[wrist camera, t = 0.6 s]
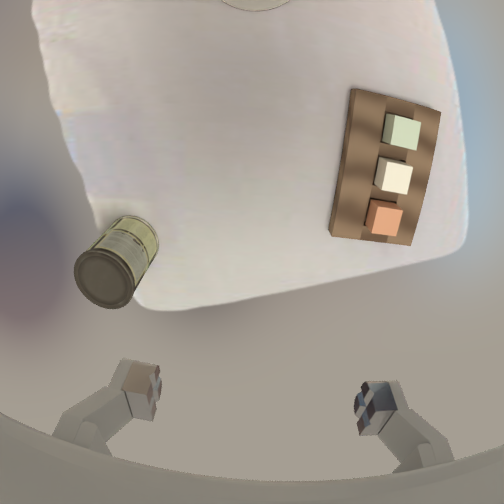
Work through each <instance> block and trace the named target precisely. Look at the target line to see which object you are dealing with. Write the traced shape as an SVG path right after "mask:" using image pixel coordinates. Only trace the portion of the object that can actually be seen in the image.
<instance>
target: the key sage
mask: <svg viewBox="0 0 504 504" xmlns="http://www.w3.org/2000/svg"><path fill="white" fill-rule="evenodd" d="M420 127H421V122H418V121H415V120H411V119H408V118H404V117H400V116H396V115H391V114H386V119H385V126H384V132H383V138H382V141H384V142H386V143H388V144H391V145H395V146H400V147H404V148H408V149H412V150H417V144H418V139H419V133H420Z"/></svg>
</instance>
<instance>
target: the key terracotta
mask: <svg viewBox="0 0 504 504" xmlns="http://www.w3.org/2000/svg"><path fill="white" fill-rule="evenodd" d="M402 213H403V210H402V209H401V208H400V207H399V206H398V205H396V204H395V203H392V202H386V201H380V200H374V199H371V201H370V205H369V210H368V214H367V218H366V223H365V225H366V226H367V228H368V229H369V230H370V232H371V233H374V234H382V235H389V236H396V235H397V231H398V228H399V224H400V220H401V216H402Z"/></svg>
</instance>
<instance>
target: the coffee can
mask: <svg viewBox="0 0 504 504" xmlns="http://www.w3.org/2000/svg"><path fill="white" fill-rule="evenodd" d="M158 248H159V242H158V238H157V235H156V233H155V231H154V229H153V228H152V227H151V226H150V225H149V224H148V223H147V222H146V221H144V220H143V219H141V218H138V217H135V216H124V217H121V218H119V219H117V220H116V221H115V222H114V223H113V224H112V226H110V227H109V228H108V229H107V230H106V231H105V232H104V233H103V234H102V235H101V236H100V237H99V239H97V241H95V242H94V243H93V244H92V245H91V246H90V248H88V250H87V251H86V252H84V253H83V254H81V255H80V256H79V258H78V259H77V260H76V263H75V266H74V277H75V281H76V284H77V286H78V288H79V289H80V291H81V292H82V293H83V295H84V296H85V297H86V298H87V299H88V300H90V301H91V302H93V303H94V304H96V305H98V306H100V307H103V308H107V309H118V308H121V307H124V306H125V305H126V304H128V303H129V301H130V300H131V298H132V296H133V294H134V291H135V290H136V288H137V286H138V285H139V283H140V281H141V279H142V278H143V276H144V274H145V272H146V271H147V269H148V267H149V266H150V264H151V262H152V261H153V259H154V258H155V257H156V255H157V252H158Z"/></svg>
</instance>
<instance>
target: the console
mask: <svg viewBox="0 0 504 504" xmlns="http://www.w3.org/2000/svg"><path fill="white" fill-rule="evenodd" d="M386 114H391V115H396V116H400V117H404V118H408V119H411V120H415V121H418V122H421V127H420V133H419V139H418V144H417V150H412V149H408V148H404V147H400V146H395V145H391V144H388V143H386V142H384V141H382V138H383V132H384V126H385V119H386ZM440 116H441V112H440V111H437V110H434V109H430V108H427V107H424V106H421V105H418V104H414V103H411V102H407V101H404V100H400V99H397V98H393V97H389V96H385V95H381V94H377V93H373V92H369V91H364V90H360V89H351V94H350V102H349V110H348V117H347V124H346V131H345V138H344V144H343V151H342V157H341V163H340V169H339V175H338V181H337V186H336V192H335V197H334V203H333V208H332V213H331V219H330V224H329V232H330V234H331V236H332V237H341V238H349V239H358V240H366V241H375V242H383V243H391V244H399V245H407V246H411V243H412V240H413V236H414V233H415V230H416V226H417V223H418V219H419V215H420V212H421V208H422V204H423V200H424V196H425V192H426V188H427V184H428V179H429V175H430V170H431V166H432V161H433V156H434V151H435V146H436V140H437V135H438V129H439V123H440ZM379 157H382V158H387V159H392V160H397V161H401V162H405V163H406V164H408V165H410V166H412V167H413V170H412V174H411V179H410V183H409V188H408V192H407V195H406V194H401V193H395V192H390V191H384V190H381V189H380V188H379V187H377V186H376V185H375V184H374V182H375V177H376V172H377V166H378V161H379ZM371 199H374V200H380V201H386V202H392V203H395V204H396V205H398V206H399V207H400V208H401V209H402V210H403V213H402V216H401V220H400V224H399V228H398V231H397V235H396V236H389V235H382V234H374V233H371V232H370V230H369V229H368V228H367V226H366V225H365V223H366V218H367V214H368V210H369V205H370V201H371Z"/></svg>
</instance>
